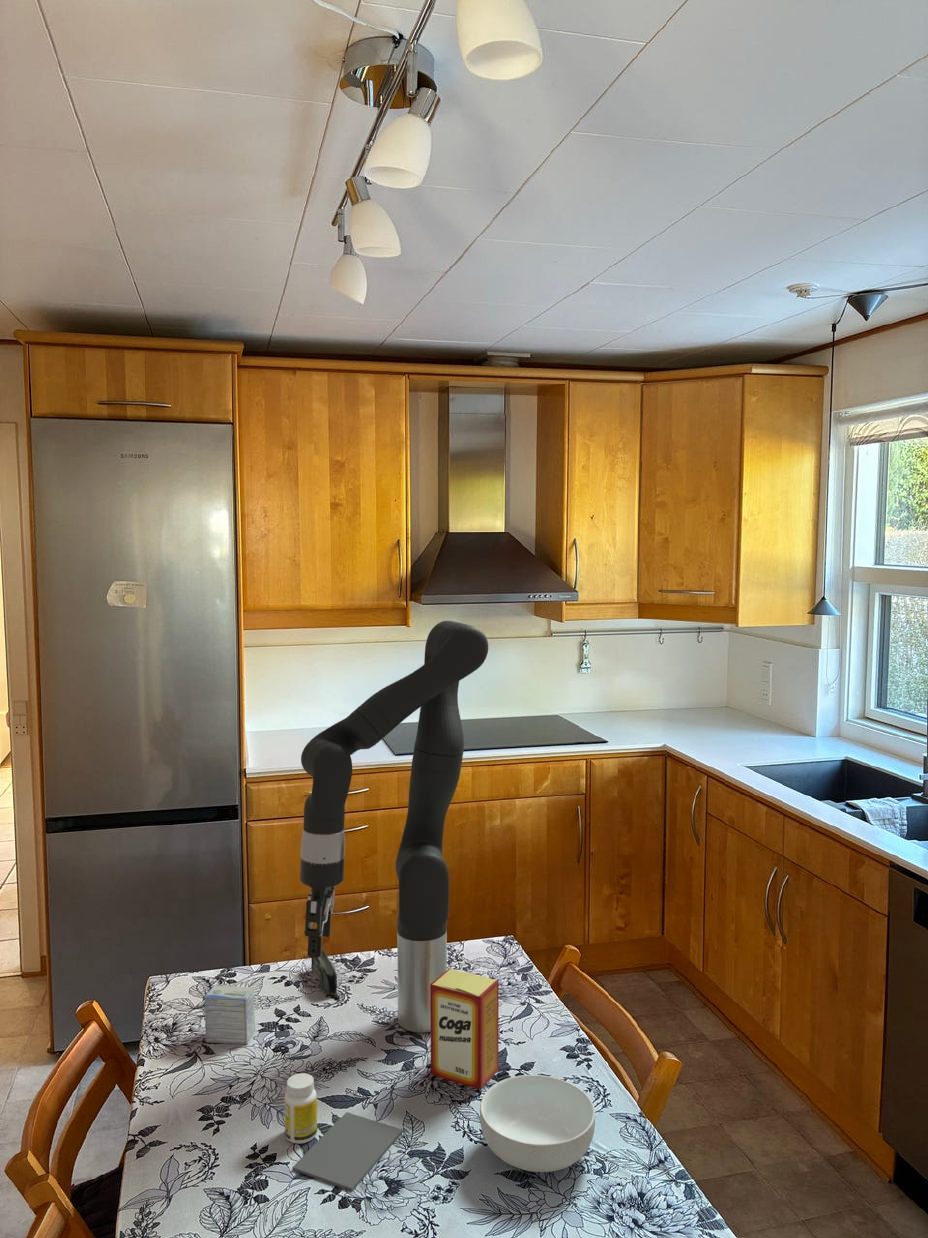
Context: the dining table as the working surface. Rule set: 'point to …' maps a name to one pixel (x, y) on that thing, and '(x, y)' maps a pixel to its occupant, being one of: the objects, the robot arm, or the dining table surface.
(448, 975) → the baking soda box
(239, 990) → the medicine box
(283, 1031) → the dining table surface
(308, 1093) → the supplement bottle
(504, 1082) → the cereal bowl
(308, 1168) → the mat
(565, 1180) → the dining table surface
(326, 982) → the dark green elongated piece
